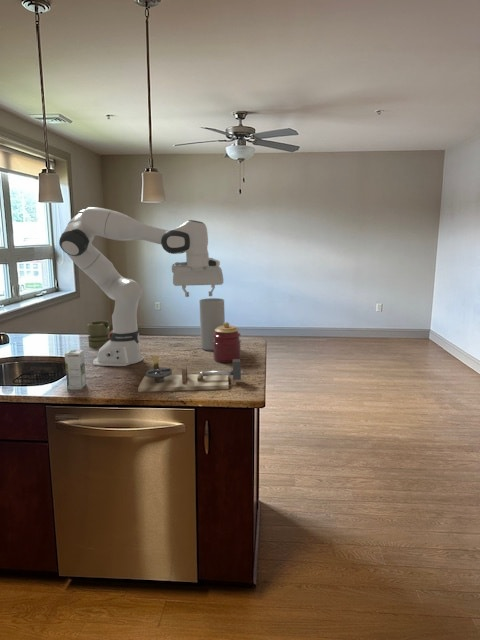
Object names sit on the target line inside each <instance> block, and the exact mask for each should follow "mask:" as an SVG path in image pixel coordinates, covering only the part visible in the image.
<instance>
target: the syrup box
mask: <svg viewBox="0 0 480 640" xmlns="http://www.w3.org/2000/svg"><path fill="white" fill-rule="evenodd" d="M64 363H65V364H64V365H65V368H64V369H65V377H66V378H65V379H66V389H67V391H71V390H72V391H73V390H74V391H75V390H83V389H84V388H85V386H86V384H87V380H86V379H87V377H86V365H85V351H84V349H70V350H68V351H67V352H65V353H64Z"/></svg>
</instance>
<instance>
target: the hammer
mask: <svg viewBox="0 0 480 640" xmlns="http://www.w3.org/2000/svg"><path fill="white" fill-rule="evenodd" d="M241 363H242V362H241V358H240V359H233V362H232V370H209V371H206V370H205V371H200V372H199V373H198V374H199V375H200V376H221V375H228V376H232V380H233V381H237V380H238V381H239V380H242V375H243V374H244V373H243V372H244V371H243V370H242V369H241V368H242V367H241Z"/></svg>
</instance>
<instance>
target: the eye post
mask: <svg viewBox="0 0 480 640" xmlns="http://www.w3.org/2000/svg"><path fill="white" fill-rule="evenodd" d="M181 375H182V384H186V382H187V377H188V376H187V375H188V363H185V362H183V363H182V367H181Z"/></svg>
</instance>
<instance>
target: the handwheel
mask: <svg viewBox="0 0 480 640" xmlns="http://www.w3.org/2000/svg"><path fill="white" fill-rule="evenodd" d="M159 363H160V361H159V355H153V356H152V367H153V368H150V369H148V370H146V371H145V376H147V377H150V378H162V377H167V376H169V375H173V370H172V368H171V367H160V364H159Z"/></svg>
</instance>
